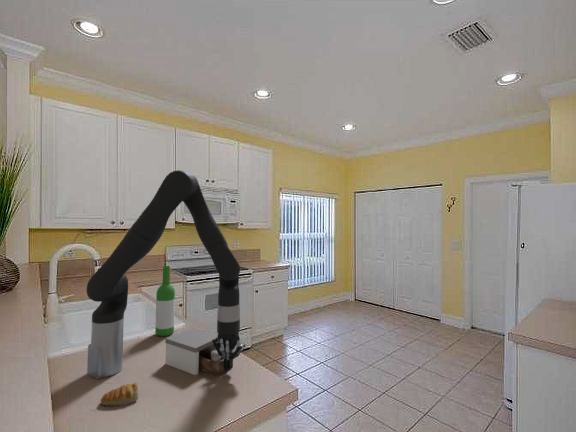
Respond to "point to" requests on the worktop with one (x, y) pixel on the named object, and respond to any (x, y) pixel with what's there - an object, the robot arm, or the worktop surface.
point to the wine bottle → (165, 306)
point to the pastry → (121, 395)
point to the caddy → (211, 362)
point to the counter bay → (184, 358)
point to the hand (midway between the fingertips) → (228, 369)
